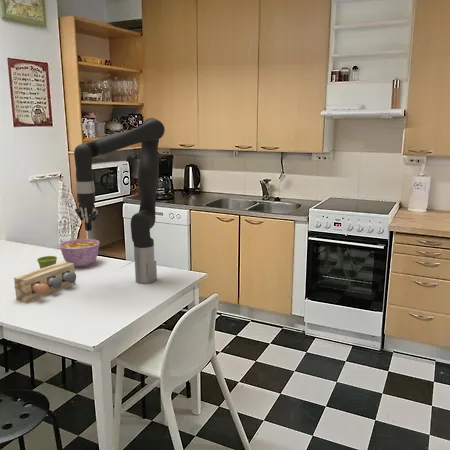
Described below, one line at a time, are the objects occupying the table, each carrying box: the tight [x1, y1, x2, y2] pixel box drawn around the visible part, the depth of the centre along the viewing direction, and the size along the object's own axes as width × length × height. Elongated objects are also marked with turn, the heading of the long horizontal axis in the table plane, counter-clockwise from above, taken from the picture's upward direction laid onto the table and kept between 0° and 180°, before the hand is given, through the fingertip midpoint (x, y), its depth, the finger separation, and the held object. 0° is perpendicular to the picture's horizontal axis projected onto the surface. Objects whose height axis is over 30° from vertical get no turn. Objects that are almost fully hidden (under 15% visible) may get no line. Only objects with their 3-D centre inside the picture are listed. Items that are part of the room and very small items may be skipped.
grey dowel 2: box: [62, 272, 77, 283], centre depth 210 cm, size 11×5×5 cm, turn 60°
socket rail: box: [13, 260, 76, 304], centre depth 204 cm, size 7×26×10 cm, turn 150°
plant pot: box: [36, 255, 58, 269], centre depth 226 cm, size 9×9×9 cm
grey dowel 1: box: [47, 277, 62, 289], centre depth 203 cm, size 11×5×5 cm, turn 60°
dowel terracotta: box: [31, 283, 49, 295], centre depth 196 cm, size 11×5×5 cm, turn 60°
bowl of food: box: [59, 238, 100, 268], centre depth 241 cm, size 20×20×12 cm
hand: (88, 230), depth 203 cm, fingers closed
